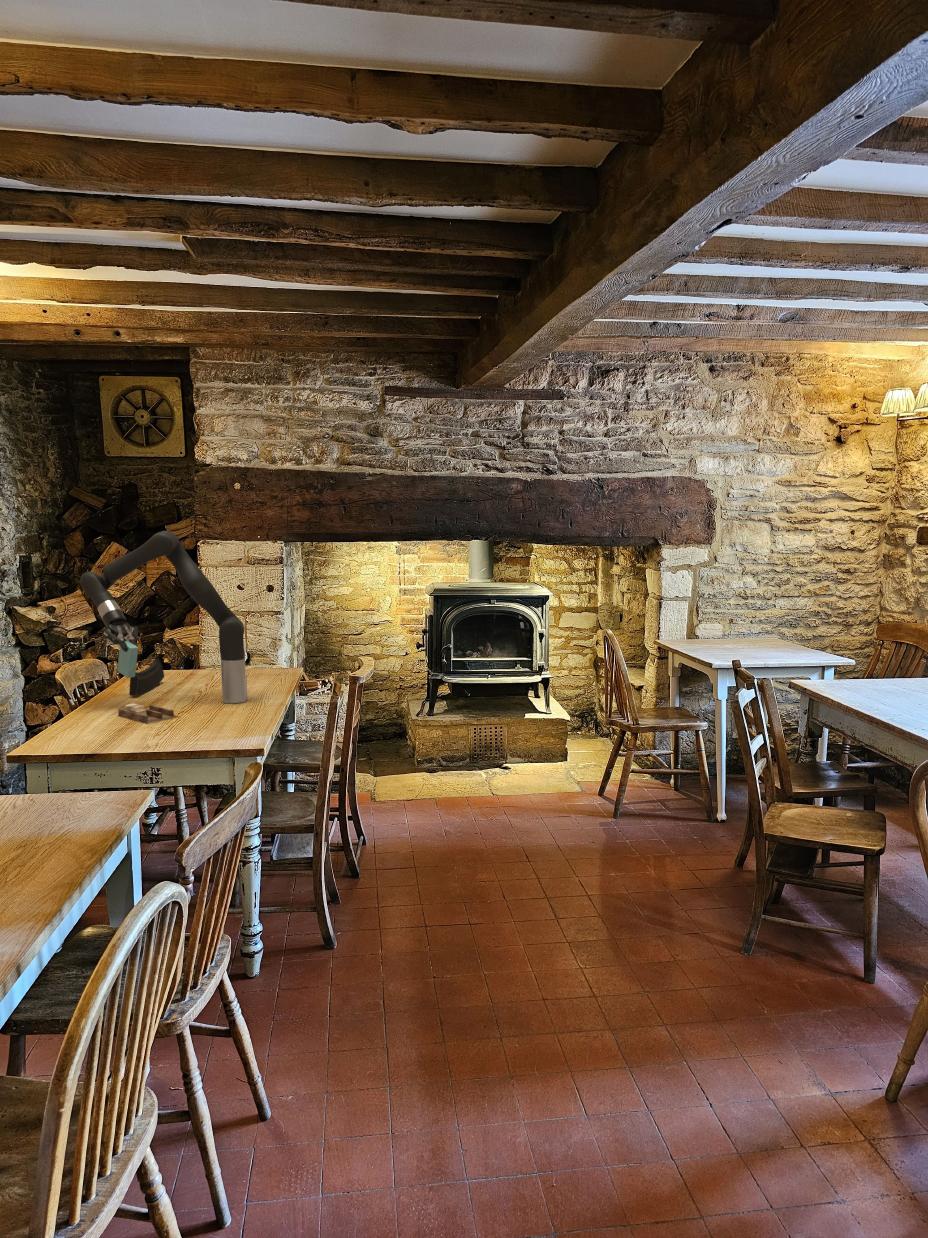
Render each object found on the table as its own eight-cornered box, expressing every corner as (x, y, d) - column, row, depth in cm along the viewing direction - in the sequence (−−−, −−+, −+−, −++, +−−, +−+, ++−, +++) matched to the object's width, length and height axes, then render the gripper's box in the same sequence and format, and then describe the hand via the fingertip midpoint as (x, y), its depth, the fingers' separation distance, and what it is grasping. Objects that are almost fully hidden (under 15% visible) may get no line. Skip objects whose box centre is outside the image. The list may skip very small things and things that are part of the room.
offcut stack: (124, 716, 294) (123, 705, 293) (134, 714, 297) (134, 703, 296) (136, 719, 289) (136, 708, 288) (147, 717, 292) (146, 706, 291)
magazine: (133, 678, 325) (159, 644, 352) (125, 678, 325) (151, 644, 352) (140, 714, 332) (165, 679, 359) (132, 714, 332) (158, 679, 359)
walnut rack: (116, 719, 295) (116, 708, 295) (149, 712, 305) (148, 702, 305) (147, 728, 283) (147, 717, 283) (180, 720, 294) (180, 710, 293)
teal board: (117, 671, 306) (120, 641, 303) (124, 669, 309) (127, 640, 305) (127, 678, 302) (130, 648, 299) (134, 676, 305) (138, 647, 301)
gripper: (97, 610, 300) (117, 646, 294) (132, 606, 311) (151, 641, 305) (90, 623, 304) (110, 658, 298) (125, 619, 315) (144, 653, 309)
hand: (131, 649), depth 302 cm, fingers closed on teal board, 2 cm apart
